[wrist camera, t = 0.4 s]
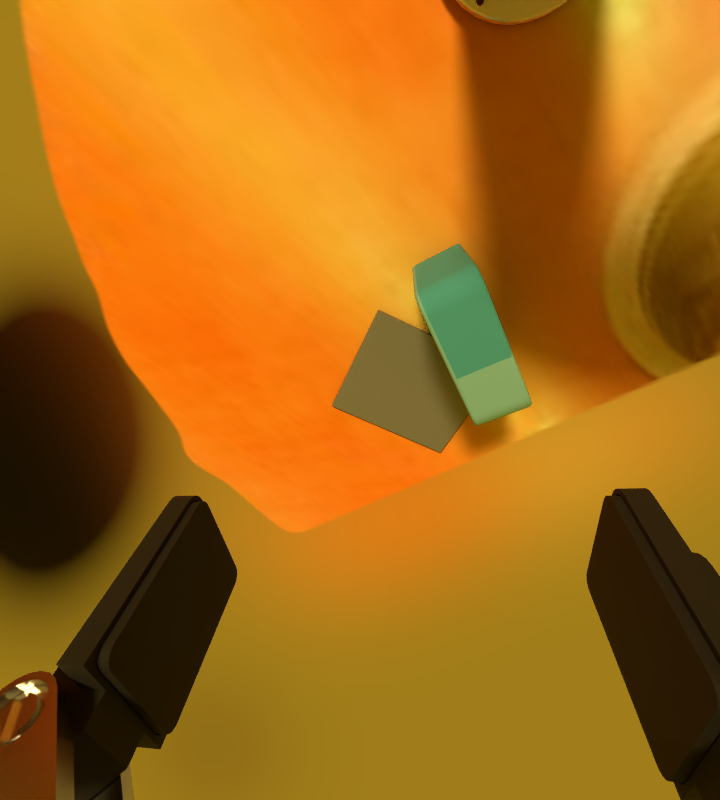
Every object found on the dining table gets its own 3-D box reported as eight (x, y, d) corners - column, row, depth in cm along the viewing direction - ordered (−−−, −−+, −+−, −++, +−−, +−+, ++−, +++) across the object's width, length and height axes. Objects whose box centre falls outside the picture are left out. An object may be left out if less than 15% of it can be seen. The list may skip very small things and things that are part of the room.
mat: (378, 309, 41) (377, 311, 40) (500, 366, 42) (501, 369, 42) (332, 403, 47) (331, 406, 47) (440, 449, 49) (440, 452, 48)
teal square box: (502, 352, 41) (536, 413, 31) (460, 370, 42) (478, 434, 32) (457, 240, 36) (478, 266, 26) (411, 264, 38) (413, 298, 27)
